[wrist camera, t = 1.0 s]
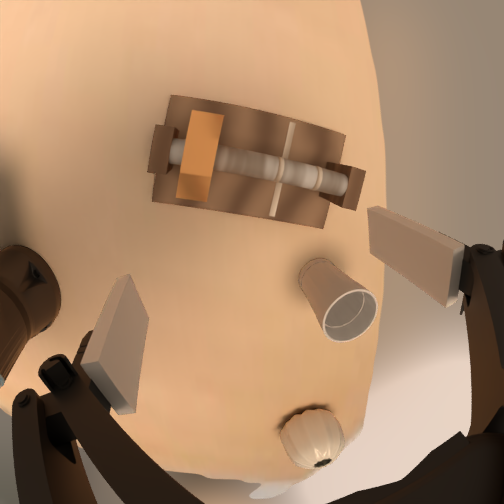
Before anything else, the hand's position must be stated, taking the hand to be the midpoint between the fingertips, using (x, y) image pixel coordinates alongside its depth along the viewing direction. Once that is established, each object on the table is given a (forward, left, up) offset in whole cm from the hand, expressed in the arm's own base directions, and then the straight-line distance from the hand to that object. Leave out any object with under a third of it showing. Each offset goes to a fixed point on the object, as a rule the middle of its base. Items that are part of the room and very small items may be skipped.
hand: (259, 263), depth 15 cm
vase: (+27, -48, -26) cm, 61 cm away
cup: (+17, -11, -25) cm, 33 cm away
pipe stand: (+3, +4, -25) cm, 26 cm away
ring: (-4, +4, -22) cm, 23 cm away
